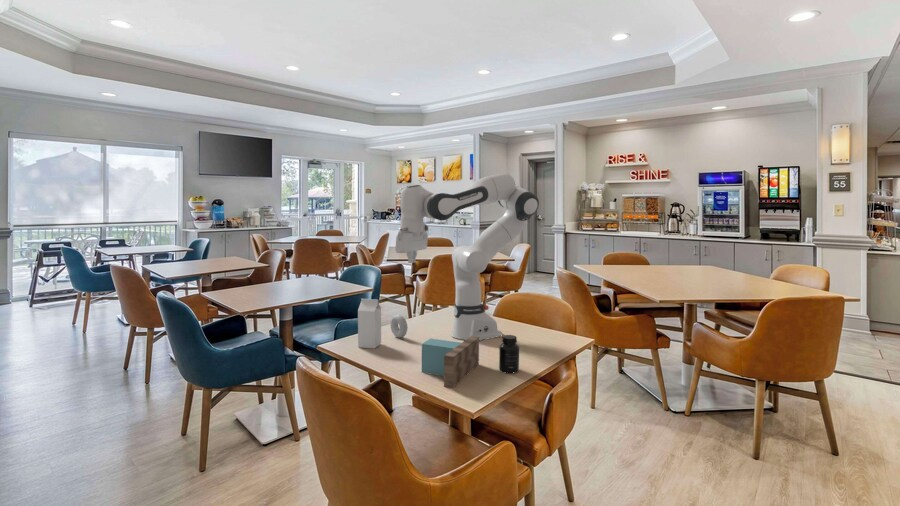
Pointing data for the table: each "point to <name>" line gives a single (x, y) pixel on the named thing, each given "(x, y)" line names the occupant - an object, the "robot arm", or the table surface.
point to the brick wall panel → (461, 361)
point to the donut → (402, 324)
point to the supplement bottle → (509, 354)
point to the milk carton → (369, 323)
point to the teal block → (435, 355)
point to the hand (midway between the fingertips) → (411, 262)
